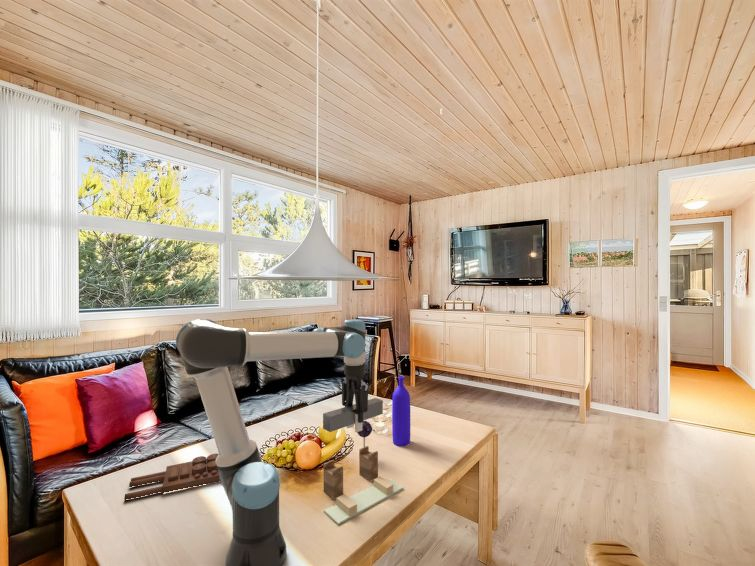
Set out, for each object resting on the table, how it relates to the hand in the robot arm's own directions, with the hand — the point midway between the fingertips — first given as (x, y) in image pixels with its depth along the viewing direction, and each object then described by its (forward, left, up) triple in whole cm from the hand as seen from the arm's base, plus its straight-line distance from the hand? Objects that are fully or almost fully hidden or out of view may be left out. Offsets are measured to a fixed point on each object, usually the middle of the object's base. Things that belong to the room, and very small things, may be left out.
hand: (354, 428), depth 125 cm
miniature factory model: (-46, +48, -22) cm, 70 cm away
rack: (+1, +3, -21) cm, 22 cm away
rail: (0, 0, +3) cm, 3 cm away
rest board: (-1, -8, -21) cm, 23 cm away
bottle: (+38, +14, -22) cm, 46 cm away
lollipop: (+17, +15, -22) cm, 31 cm away
